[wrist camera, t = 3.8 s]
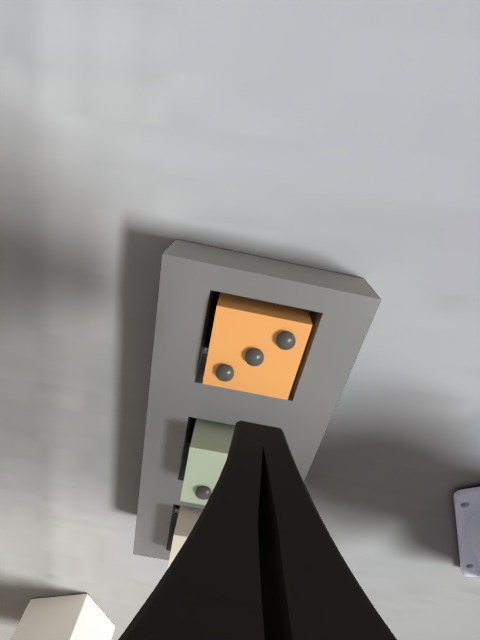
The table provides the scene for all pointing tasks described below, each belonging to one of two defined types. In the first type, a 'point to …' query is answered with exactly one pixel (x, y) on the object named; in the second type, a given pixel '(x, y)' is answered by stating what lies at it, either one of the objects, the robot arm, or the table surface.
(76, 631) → the milk
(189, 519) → the button one cream
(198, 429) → the button two sage
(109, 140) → the table surface
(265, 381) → the button three orange
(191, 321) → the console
